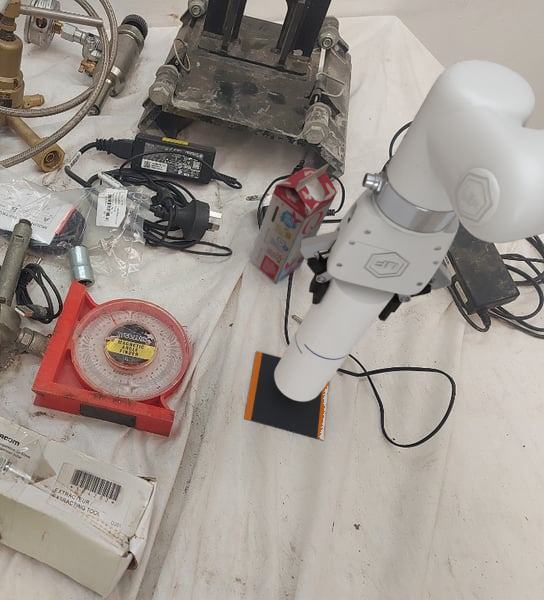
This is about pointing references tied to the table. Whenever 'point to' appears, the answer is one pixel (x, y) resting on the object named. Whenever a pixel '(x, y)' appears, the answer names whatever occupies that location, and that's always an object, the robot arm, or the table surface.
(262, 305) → the table surface
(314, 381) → the cylindrical container
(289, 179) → the juice carton
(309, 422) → the mat
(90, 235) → the table surface
